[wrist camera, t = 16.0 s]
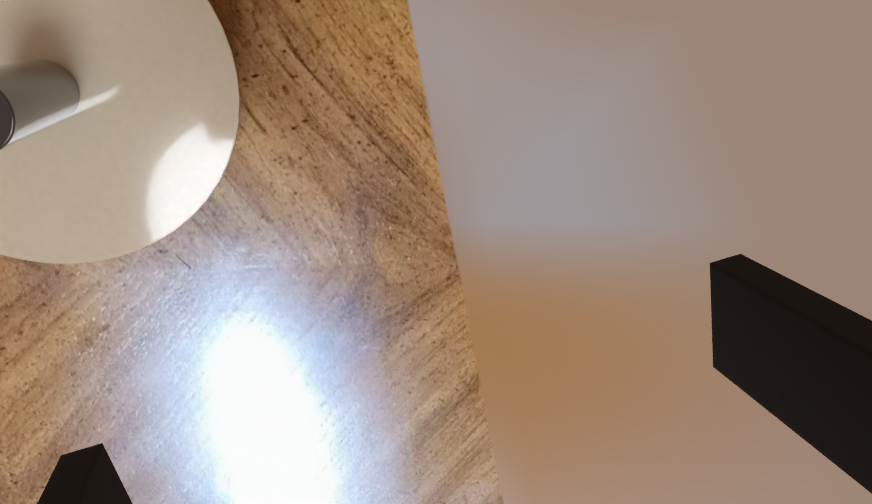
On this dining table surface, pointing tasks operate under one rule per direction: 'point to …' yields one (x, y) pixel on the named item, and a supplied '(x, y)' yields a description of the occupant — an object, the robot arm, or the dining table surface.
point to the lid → (109, 123)
